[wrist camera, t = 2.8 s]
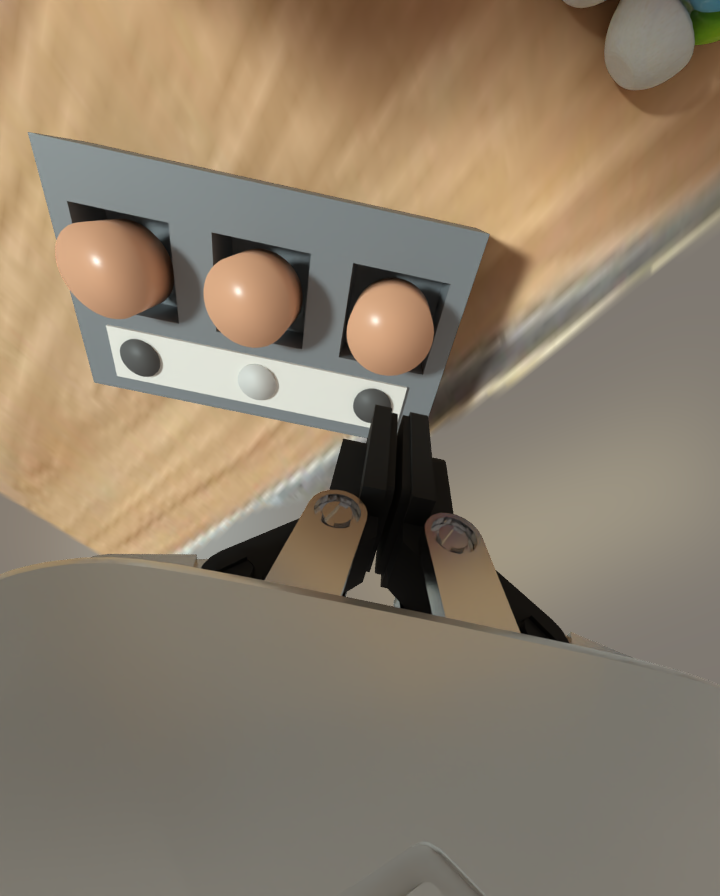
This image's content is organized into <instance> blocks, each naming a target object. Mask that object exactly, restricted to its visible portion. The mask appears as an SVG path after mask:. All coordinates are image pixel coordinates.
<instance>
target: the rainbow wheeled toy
mask: <svg viewBox="0 0 720 896" xmlns="http://www.w3.org/2000/svg"><path fill="white" fill-rule="evenodd" d="M563 1H564V2H565V3H566V4H568V5H570V6H572V7H577V8H586V7H591V6H594V5H597V4H599V3H602V2H604V1H605V0H563ZM718 40H720V0H620V2H619V4H618V6H617V8H616V10H615V12H614V14H613V17H612V19H611V22H610V25H609V28H608V31H607V35H606V40H605V48H604V57H605V64H606V67H607V70H608V72H609V74H610V76H611V77H612V78H613V79H614V81H615V82H616V83H617V84H618V85H620V86H621V87H623V88H625V89H628V90H643V89H648V88H652V87H655V86H657V85H659V84H661V83H663V82H665V81H667V80H668V79H670V78H671V77H673V76H674V75H675V74H677V73H678V72H679V71H681V70H682V69H683V68H684V67H685V66H686V65H687V63H688V62H689V61H690V59H691V57H692V54H693V50H694V45H703V44H708V43H712V42H716V41H718Z"/></svg>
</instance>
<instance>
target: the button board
mask: <svg viewBox="0 0 720 896" xmlns="http://www.w3.org/2000/svg"><path fill="white" fill-rule="evenodd" d="M28 135H29V138H30V142H31V146H32V150H33V153H34V157H35V161H36V165H37V168H38V172H39V176H40V180H41V183H42V187H43V191H44V195H45V199H46V202H47V206H48V210H49V214H50V217H51V221H52V225H53V229H54V232H55V236H56V240H57V238H58V235H59V234H60V232H61V231H62V230H63V229H64V228H65V227H67V226H68V225H70V224H73V223H77V222H87V221H98V220H110V219H128V220H131V221H134V222H137V223H139V224H141V225H143V226H144V227H146V228H147V229H148V230H150V231H151V232H152V233H153V234H154V235H155V236H156V237H157V238H158V239H159V240H160V241H161V243H162V244H163V245H164V247H165V249H166V250H167V252H168V254H169V256H170V259H171V261H172V264H173V271H174V287H173V290H172V292H171V294H170V296H169V297H168V298H167V299H166V300H165V301H164V302H162V303H160V304H158V305H156V306H154V307H152V308H149V309H147V310H145V311H143V312H141V313H138V314H136V315H134V316H132V317H129V318H126V319H112V318H107V317H104V316H102V315H99V314H97V313H95V312H94V311H92V310H90V309H89V308H88V307H86V306H85V305H84V304H82V303H81V302H80V301H79V300H78V299H77V298H76V297H75V296H74V295H73V293H72V292H71V291H70V293H71V296H72V300H73V304H74V308H75V312H76V315H77V319H78V323H79V327H80V330H81V334H82V338H83V342H84V345H85V349H86V353H87V357H88V360H89V364H90V368H91V372H92V376H93V379H94V382H95V383H99V384H104V385H109V386H114V387H119V388H124V389H129V390H134V391H139V392H144V393H148V394H153V395H158V396H163V397H168V398H173V399H178V400H183V401H188V402H192V403H197V404H202V405H207V406H212V407H217V408H222V409H227V410H232V411H236V412H241V413H246V414H251V415H256V416H261V417H266V418H271V419H276V420H280V421H285V422H290V423H295V424H300V425H305V426H310V427H315V428H320V429H324V430H329V431H334V432H339V433H344V434H349V435H354V436H359V437H364V438H368V433H369V429H370V425H371V420H372V416H373V412H374V408H375V404H376V405H380V406H385V407H390V408H392V413H396V414H398V425H397V432H398V429H399V425H400V422H401V419H402V416H403V415H406V416H409V414H410V412H413V413H418V414H422V415H427V416H429V413H430V410H431V407H432V404H433V401H434V398H435V395H436V392H437V389H438V386H439V383H440V380H441V377H442V374H443V371H444V369H445V366H446V363H447V360H448V357H449V354H450V351H451V348H452V345H453V342H454V339H455V336H456V333H457V330H458V327H459V324H460V321H461V318H462V315H463V312H464V309H465V306H466V303H467V300H468V297H469V294H470V291H471V288H472V285H473V282H474V279H475V276H476V273H477V270H478V267H479V264H480V261H481V258H482V255H483V253H484V250H485V247H486V244H487V241H488V238H489V235H490V234H488V233H486V232H484V231H481V230H479V229H477V228H473V227H468V226H464V225H459V224H455V223H450V222H446V221H441V220H437V219H432V218H428V217H423V216H419V215H414V214H410V213H405V212H401V211H396V210H392V209H387V208H383V207H378V206H374V205H369V204H365V203H360V202H355V201H351V200H346V199H342V198H337V197H333V196H328V195H324V194H319V193H315V192H310V191H306V190H301V189H297V188H292V187H288V186H283V185H279V184H274V183H270V182H265V181H261V180H256V179H252V178H247V177H243V176H238V175H233V174H229V173H224V172H220V171H215V170H211V169H206V168H202V167H197V166H193V165H188V164H184V163H179V162H175V161H170V160H166V159H161V158H157V157H152V156H148V155H143V154H139V153H134V152H130V151H125V150H121V149H116V148H111V147H107V146H102V145H98V144H93V143H89V142H84V141H78V140H72V139H66V138H60V137H54V136H48V135H42V134H36V133H30V132H28ZM250 249H266V250H270V251H272V252H275V253H277V254H278V255H280V256H281V257H283V258H284V259H285V260H286V261H287V262H288V263H289V264H290V265H291V266H292V267H293V269H294V270H295V272H296V273H297V275H298V278H299V280H300V283H301V287H302V293H303V302H302V307H301V311H300V313H299V315H298V317H297V318H296V320H295V321H294V322H293V323H292V324H291V326H290V327H289V328H288V329H287V330H286V331H285V333H284V334H283V335H282V336H281V337H280V338H279V339H278V340H277V341H276V342H274V343H273V344H270V345H268V346H265V347H259V348H251V347H246V346H242V345H239V344H237V343H235V342H233V341H231V340H230V339H228V338H227V337H226V336H224V335H223V334H222V333H221V332H220V331H219V330H218V329H217V327H216V326H215V325H214V323H213V322H212V320H211V319H210V317H209V315H208V312H207V310H206V306H205V302H204V283H205V280H206V277H207V275H208V273H209V271H210V270H211V268H212V267H213V266H214V265H215V264H216V263H218V262H219V261H221V260H222V259H224V258H227V257H230V256H233V255H235V254H238V253H241V252H244V251H247V250H250ZM384 278H401V279H404V280H407V281H409V282H411V283H412V284H414V285H415V286H417V287H418V288H419V289H420V290H421V292H422V293H423V294H424V296H425V297H426V300H427V302H428V305H429V308H430V312H431V317H432V321H433V326H434V336H433V342H432V346H431V348H430V350H429V352H428V354H427V356H426V357H425V359H424V360H423V361H422V362H421V363H420V364H419V365H418V366H417V367H415V368H414V369H412V370H410V371H408V372H406V373H403V374H400V375H394V376H385V375H379V374H376V373H373V372H371V371H369V370H367V369H366V368H364V367H363V366H362V365H361V364H360V363H358V361H357V360H356V359H355V358H354V356H353V355H352V353H351V351H350V348H349V345H348V341H347V325H348V321H349V318H350V315H351V313H352V310H353V308H354V306H355V303H356V301H357V299H358V297H359V296H360V294H361V293H362V292H363V291H364V290H365V288H367V287H368V286H369V285H371V284H372V283H374V282H376V281H378V280H381V279H384Z"/></svg>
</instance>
